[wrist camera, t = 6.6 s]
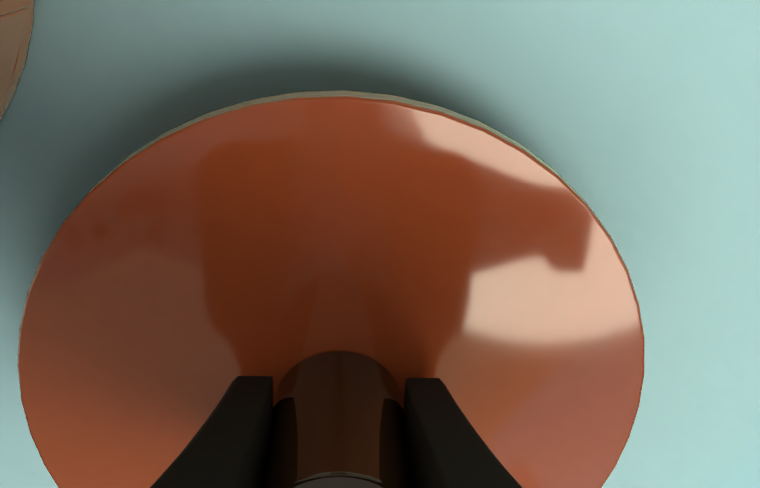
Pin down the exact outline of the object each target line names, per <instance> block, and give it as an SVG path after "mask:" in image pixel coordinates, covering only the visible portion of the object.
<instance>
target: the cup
mask: <svg viewBox="0 0 760 488" xmlns="http://www.w3.org/2000/svg"><path fill="white" fill-rule="evenodd" d="M33 15H34V0H0V120H1V118H2V116H3V114H4V113H5V111H6V109H7V107H8V105H9V103H10V101H11V100H12V98H13V96H14V93H15V90H16V88H17V85H18V82H19V79H20V76H21V73H22V71H23V68H24V65H25V62H26V58H27V52H28V47H29V42H30V37H31V32H32V27H33Z"/></svg>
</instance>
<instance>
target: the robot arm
mask: <svg viewBox="0 0 760 488" xmlns="http://www.w3.org/2000/svg"><path fill="white" fill-rule="evenodd" d="M403 412H404V420H405V428H406V437H407V445H408V452H409V459H410V467H411V475H412V483H413V488H523V487H522V486H521V485H520V484H519V483H518V482H517V481H516V480H515V479H514V477H513V476H512V475H511V474H510V473H509V472H508V471H507V470H506V468H505V467H504V466H503V465H502V464H501V462H500V461H499V460H498V459H497V458H496V456H495V455H494V454H493V452H492V451H491V450H490V449H489V447H488V446H487V445H486V443H485V442H484V441H483V440H482V438H481V437H480V436H479V434H478V433H477V432H476V430H475V429H474V428H473V426H472V425H471V424H470V422H469V421H468V419H467V418H466V416H465V415H464V413H463V412H462V411H461V409H460V408H459V406H458V405H457V403H456V401H455V400H454V398H453V397H452V395H451V394H450V392H449V390H448V389H447V387H446V385H445V384H444V383H443V382H442V381H441V379H440V378H406V380H405V393H404V407H403ZM272 413H273V376H238V377H237V378H235V379H234V380H233V381H232V383H231V384H230V386H229V388H228V389H227V391H226V393H225V394H224V396H223V397H222V399H221V400H220V402H219V403H218V405H217V406H216V408H215V409H214V410H213V412H212V413H211V415H210V416H209V417H208V419H207V420H206V422H205V423H204V424H203V425H202V427H201V428H200V429H199V431H198V432H197V433H196V434H195V436H194V437H193V438H192V440H191V441H190V442H189V443H188V445H187V446H186V447H185V448H184V450H183V451H182V452H181V453H180V454H179V456H178V457H177V458H176V459H175V460H174V461H173V462H172V463H171V465H170V466H169V467H168V468H167V469H166V470H165V471H164V472H163V474H162V475H161V476H160V477H159V478H158V479H157V480H156V481H155V483H154V484H153V485H152V486H151V487H150V488H261V487H262V480H263V473H264V466H265V460H266V454H267V448H268V442H269V435H270V428H271V421H272Z"/></svg>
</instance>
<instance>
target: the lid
mask: <svg viewBox="0 0 760 488" xmlns="http://www.w3.org/2000/svg"><path fill="white" fill-rule="evenodd" d="M18 373H19V382H20V391H21V400H22V404H23V408H24V411H25V415H26V419H27V422H28V426H29V430H30V433H31V436H32V438H33V440H34V442H35V445H36V447H37V449H38V451H39V454H40V456H41V458H42V460H43V463H44V465H45V466H46V468H47V470H48V471H49V473H50V474H51V476H52V478H53V479H54V481H55V482H56V484H57V486H58V487H59V488H150V487H151V486H152V485H153V484H154V483H155V481H156V480H157V479H158V478H159V477H160V476H161V475H162V474H163V472H164V471H165V470H166V469H167V468H168V467H169V466H170V465H171V463H172V462H173V461H174V460H175V459H176V458H177V457H178V456H179V454H180V453H181V452H182V451H183V450H184V448H185V447H186V446H187V445H188V443H189V442H190V441H191V440H192V438H193V437H194V436H195V434H196V433H197V432H198V431H199V429H200V428H201V427H202V425H203V424H204V423H205V422H206V420H207V419H208V417H209V416H210V415H211V413H212V412H213V410H214V409H215V408H216V406H217V405H218V403H219V402H220V400H221V399H222V397H223V396H224V394H225V393H226V391H227V389H228V388H229V386H230V384H231V383H232V381H233V380H234V379H235V378H237V377H238V376H273V413H272V421H271V428H270V435H269V442H268V448H267V454H266V460H265V466H264V473H263V480H262V487H261V488H413V483H412V475H411V467H410V459H409V452H408V445H407V437H406V428H405V420H404V412H403V407H404V393H405V380H406V378H440V379H441V381H442V382H443V383H444V384H445V385H446V387H447V389H448V390H449V392H450V394H451V395H452V397H453V398H454V400H455V401H456V403H457V405H458V406H459V408H460V409H461V411H462V412H463V413H464V415H465V416H466V418H467V419H468V421H469V422H470V424H471V425H472V426H473V428H474V429H475V430H476V432H477V433H478V434H479V436H480V437H481V438H482V440H483V441H484V442H485V443H486V445H487V446H488V447H489V449H490V450H491V451H492V452H493V454H494V455H495V456H496V458H497V459H498V460H499V461H500V462H501V464H502V465H503V466H504V467H505V468H506V470H507V471H508V472H509V473H510V474H511V475H512V476H513V477H514V479H515V480H516V481H517V482H518V483H519V484H520V485H521V486H522V487H523V488H601V487H602V486H603V484H604V483H605V481H606V480H607V478H608V477H609V475H610V474H611V472H612V471H613V469H614V467H615V466H616V464H617V461H618V459H619V457H620V455H621V453H622V451H623V449H624V447H625V445H626V443H627V441H628V438H629V436H630V433H631V429H632V426H633V423H634V420H635V417H636V414H637V410H638V407H639V402H640V396H641V389H642V383H643V377H644V333H643V327H642V321H641V314H640V308H639V303H638V300H637V297H636V293H635V290H634V287H633V284H632V281H631V278H630V275H629V272H628V269H627V267H626V265H625V263H624V261H623V259H622V257H621V255H620V254H619V252H618V250H617V248H616V246H615V244H614V242H613V240H612V238H611V236H610V235H609V233H608V232H607V231H606V229H605V228H604V226H603V225H602V224H601V222H600V221H599V220H598V218H597V217H596V215H595V214H594V213H593V211H592V210H591V209H590V207H589V206H588V204H587V203H586V202H585V201H584V200H583V199H582V197H581V196H580V195H579V194H578V193H577V192H576V191H575V190H574V189H573V188H572V187H571V186H570V185H569V184H568V183H567V182H566V181H565V180H564V179H563V178H562V177H561V176H560V175H559V174H558V173H557V172H556V171H555V170H554V169H553V168H552V167H551V166H549V165H548V164H547V163H545V162H544V161H543V160H541V159H540V158H539V157H537V156H536V155H535V154H533V153H532V152H531V151H529V150H528V149H527V148H525V147H524V146H523V145H521V144H520V143H518V142H516V141H515V140H513V139H511V138H509V137H507V136H506V135H504V134H502V133H500V132H498V131H496V130H495V129H493V128H491V127H489V126H487V125H486V124H484V123H482V122H480V121H477V120H475V119H472V118H469V117H467V116H464V115H461V114H459V113H456V112H454V111H451V110H448V109H446V108H443V107H441V106H437V105H433V104H429V103H425V102H420V101H416V100H412V99H408V98H404V97H399V96H395V95H387V94H377V93H367V92H358V91H348V90H342V91H309V92H295V93H288V94H282V95H276V96H270V97H264V98H258V99H252V100H248V101H245V102H242V103H239V104H235V105H232V106H229V107H225V108H222V109H219V110H215V111H212V112H209V113H206V114H204V115H202V116H200V117H197V118H195V119H193V120H191V121H189V122H186V123H184V124H182V125H180V126H178V127H176V128H173V129H171V130H169V131H167V132H165V133H163V134H162V135H160V136H159V137H157V138H156V139H154V140H153V141H151V142H149V143H148V144H146V145H145V146H143V147H142V148H140V149H139V150H137V151H135V152H134V153H132V154H131V155H129V156H128V157H127V158H126V159H124V160H123V161H122V162H121V163H120V164H119V165H118V166H116V167H115V168H114V169H113V170H112V171H111V172H110V173H108V174H107V175H106V176H105V177H104V178H103V179H101V180H100V181H99V182H98V183H97V184H96V185H95V186H94V187H93V188H92V189H91V190H90V192H89V193H88V194H87V195H86V196H85V197H84V199H83V200H82V201H81V202H80V203H79V205H78V206H77V207H76V208H75V209H74V210H73V212H72V213H71V214H70V215H69V216H68V217H67V219H66V220H65V221H64V222H63V223H62V225H61V227H60V228H59V230H58V232H57V233H56V235H55V237H54V238H53V240H52V242H51V243H50V245H49V246H48V248H47V250H46V251H45V253H44V255H43V256H42V258H41V261H40V263H39V266H38V268H37V271H36V273H35V276H34V278H33V281H32V283H31V286H30V288H29V291H28V293H27V298H26V302H25V307H24V311H23V316H22V320H21V325H20V330H19V349H18Z"/></svg>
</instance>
